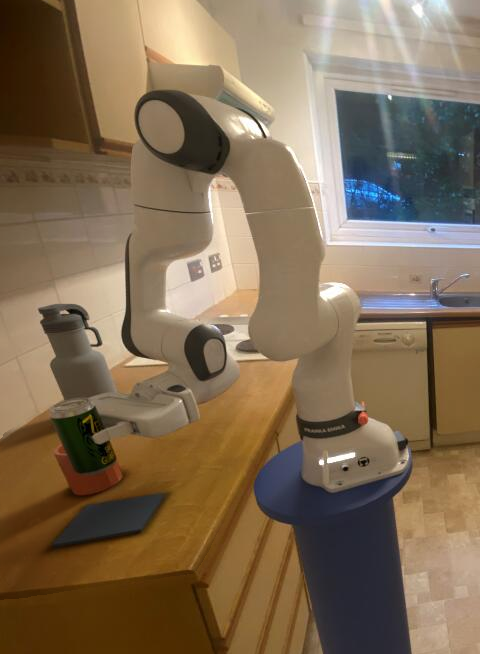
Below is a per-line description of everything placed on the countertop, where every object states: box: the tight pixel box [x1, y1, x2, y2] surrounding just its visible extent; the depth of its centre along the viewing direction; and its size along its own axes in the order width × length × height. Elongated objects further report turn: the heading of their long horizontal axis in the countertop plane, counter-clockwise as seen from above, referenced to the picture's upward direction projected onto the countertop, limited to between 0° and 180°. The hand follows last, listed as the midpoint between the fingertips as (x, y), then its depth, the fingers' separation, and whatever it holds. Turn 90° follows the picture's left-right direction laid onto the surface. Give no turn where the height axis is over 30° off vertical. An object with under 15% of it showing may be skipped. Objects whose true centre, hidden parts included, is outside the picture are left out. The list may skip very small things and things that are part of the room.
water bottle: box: [37, 303, 118, 401], centre depth 107 cm, size 10×10×28 cm
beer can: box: [48, 398, 117, 476], centre depth 71 cm, size 5×5×12 cm
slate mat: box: [51, 492, 166, 549], centre depth 76 cm, size 12×10×1 cm
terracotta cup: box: [53, 443, 123, 496], centre depth 83 cm, size 7×7×9 cm
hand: (77, 437), depth 70 cm, fingers closed on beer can, 5 cm apart
